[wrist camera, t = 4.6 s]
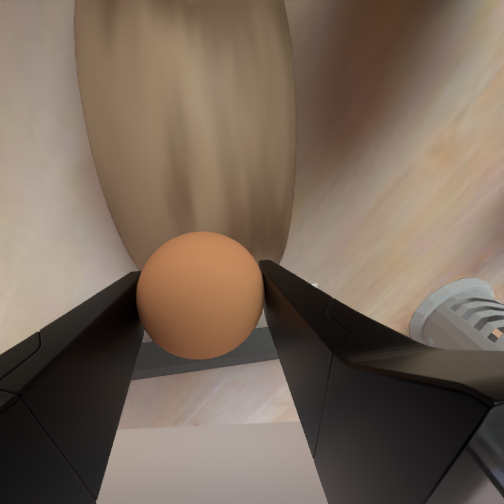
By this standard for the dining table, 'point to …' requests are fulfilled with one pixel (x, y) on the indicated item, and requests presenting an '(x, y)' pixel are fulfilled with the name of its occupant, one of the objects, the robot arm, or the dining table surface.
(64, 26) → the dining table surface
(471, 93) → the dining table surface
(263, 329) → the bar
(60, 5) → the dining table surface
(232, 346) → the ball
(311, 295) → the robot arm
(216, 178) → the hump
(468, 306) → the french press
